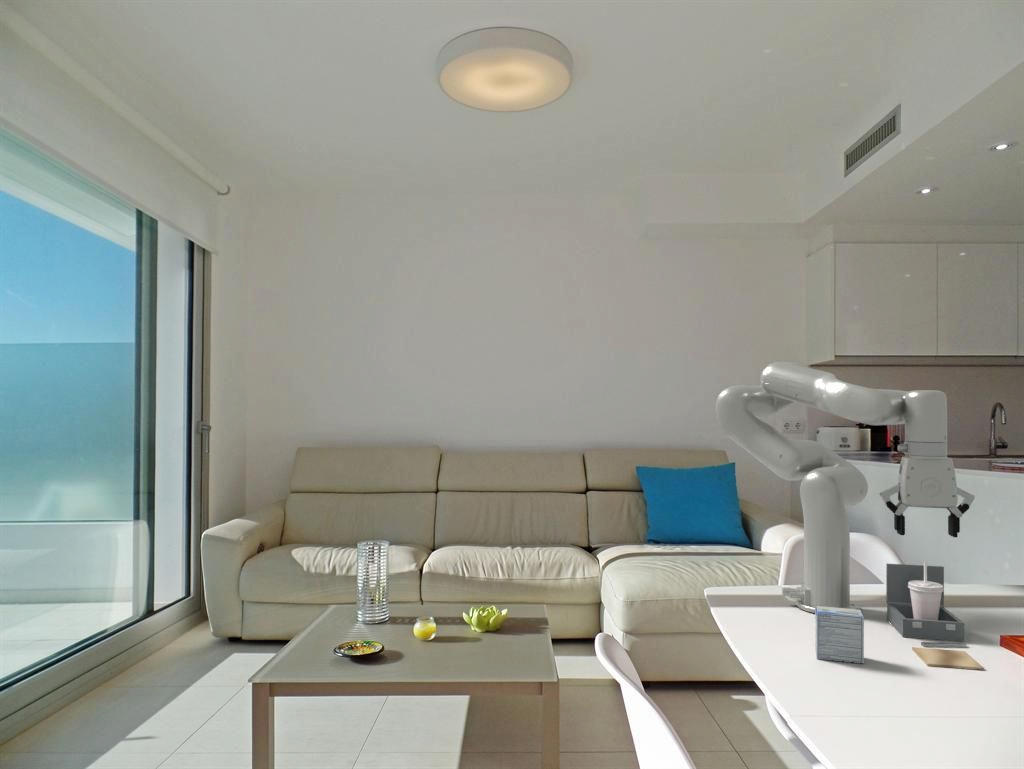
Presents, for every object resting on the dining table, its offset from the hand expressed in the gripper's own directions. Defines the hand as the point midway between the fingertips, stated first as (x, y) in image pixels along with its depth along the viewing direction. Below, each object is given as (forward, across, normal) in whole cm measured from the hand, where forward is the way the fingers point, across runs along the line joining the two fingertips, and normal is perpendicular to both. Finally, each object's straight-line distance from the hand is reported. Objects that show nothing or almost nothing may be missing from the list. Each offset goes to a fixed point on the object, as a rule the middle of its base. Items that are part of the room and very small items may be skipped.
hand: (926, 535), depth 153 cm
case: (+20, 0, +1) cm, 20 cm away
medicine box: (+20, -21, -21) cm, 35 cm away
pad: (+20, -2, -17) cm, 26 cm away
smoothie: (+20, 0, 0) cm, 20 cm away
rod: (+20, 0, -9) cm, 22 cm away
